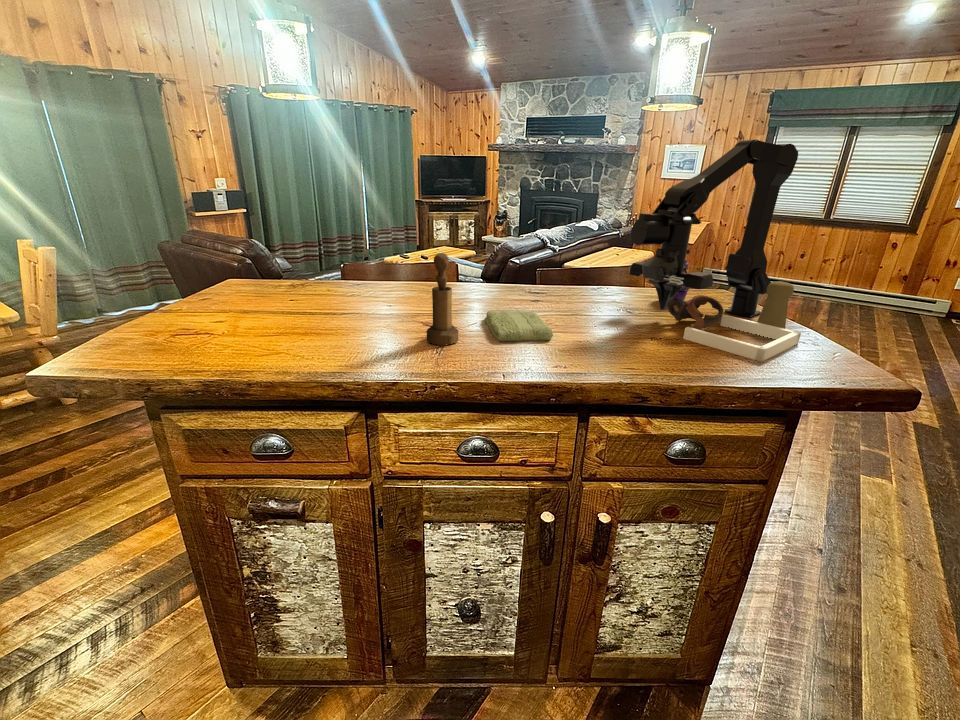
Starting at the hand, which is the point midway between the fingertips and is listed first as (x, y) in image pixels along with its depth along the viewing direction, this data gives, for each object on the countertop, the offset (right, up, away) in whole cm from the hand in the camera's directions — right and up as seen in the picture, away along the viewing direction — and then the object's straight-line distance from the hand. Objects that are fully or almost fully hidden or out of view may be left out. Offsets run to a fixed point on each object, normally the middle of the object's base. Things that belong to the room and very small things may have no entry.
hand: (662, 309), depth 113 cm
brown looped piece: (+5, -4, -3) cm, 8 cm away
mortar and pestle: (-52, -8, -15) cm, 55 cm away
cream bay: (+11, -8, -12) cm, 18 cm away
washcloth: (-36, -6, -7) cm, 37 cm away
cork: (+23, -5, -4) cm, 24 cm away
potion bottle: (+10, +4, +18) cm, 21 cm away
